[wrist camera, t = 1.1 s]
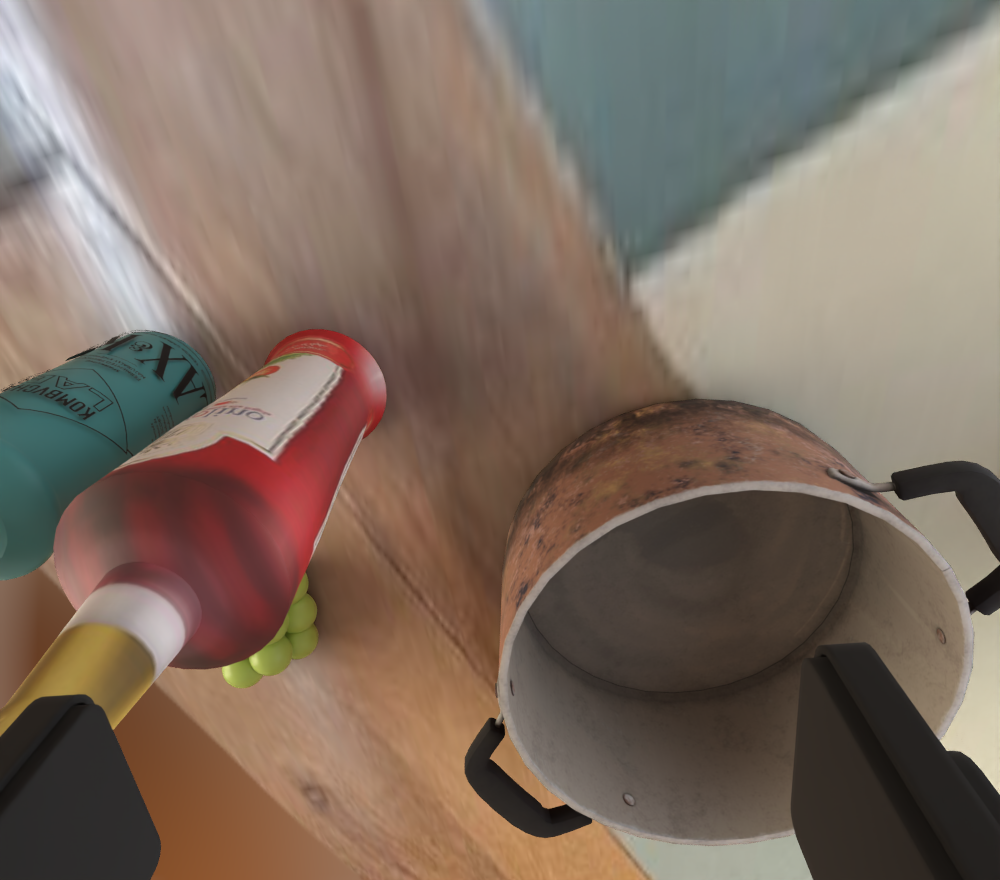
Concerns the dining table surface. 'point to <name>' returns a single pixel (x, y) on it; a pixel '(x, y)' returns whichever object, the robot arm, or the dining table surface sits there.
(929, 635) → the cooking pot
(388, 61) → the dining table surface
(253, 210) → the dining table surface
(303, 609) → the grapes
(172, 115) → the dining table surface
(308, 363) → the liquor
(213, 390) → the beverage bottle
